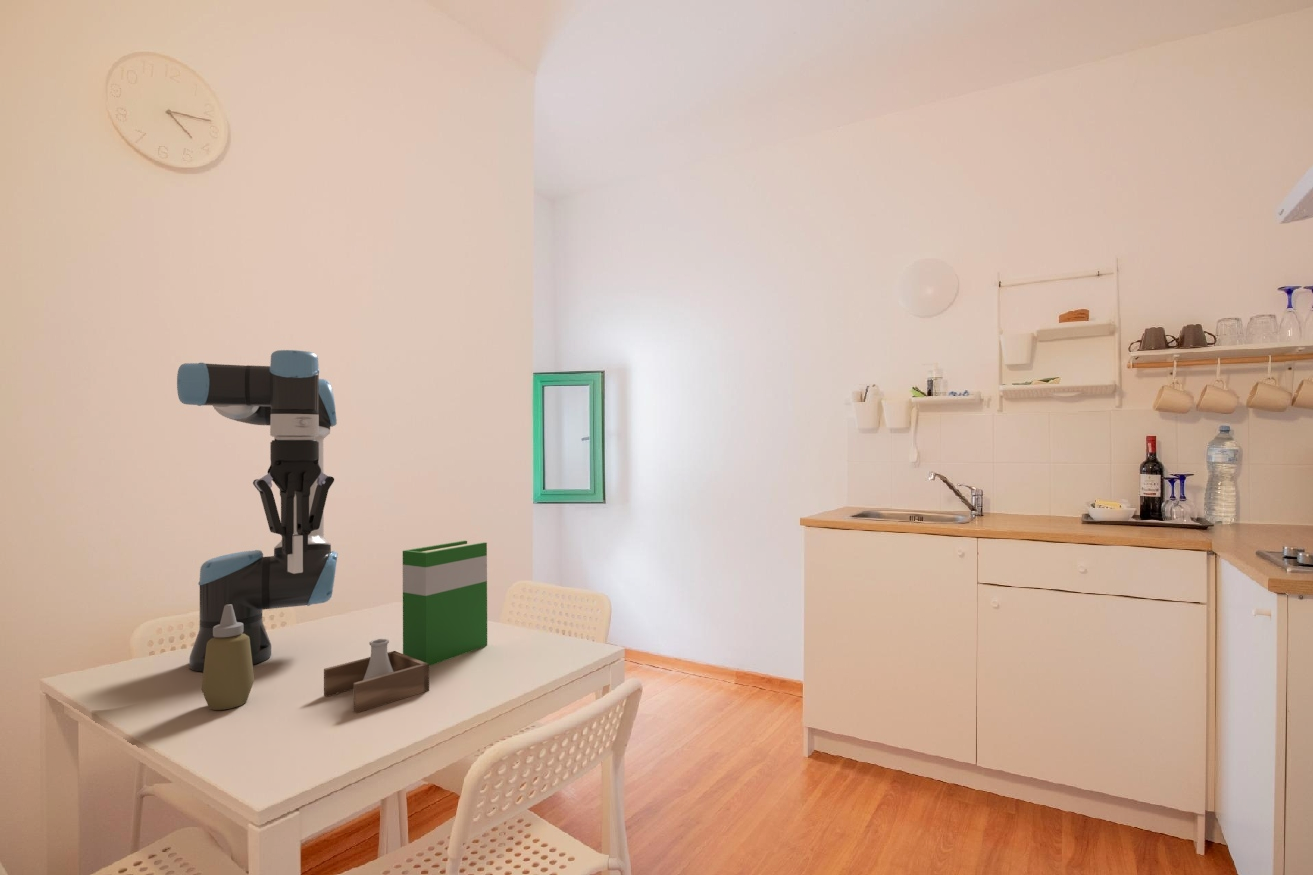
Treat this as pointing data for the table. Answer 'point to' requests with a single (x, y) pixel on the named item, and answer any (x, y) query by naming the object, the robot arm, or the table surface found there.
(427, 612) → the hardback book
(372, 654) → the flask
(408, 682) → the box
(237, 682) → the squeeze bottle
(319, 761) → the table surface
